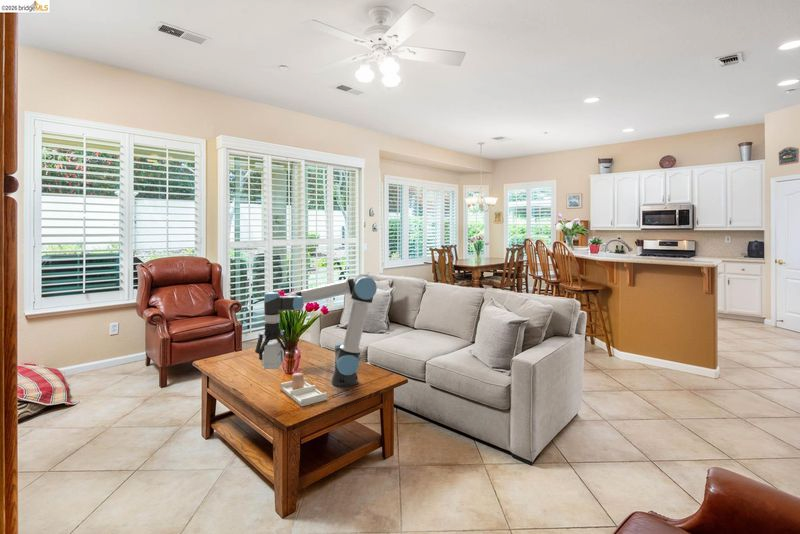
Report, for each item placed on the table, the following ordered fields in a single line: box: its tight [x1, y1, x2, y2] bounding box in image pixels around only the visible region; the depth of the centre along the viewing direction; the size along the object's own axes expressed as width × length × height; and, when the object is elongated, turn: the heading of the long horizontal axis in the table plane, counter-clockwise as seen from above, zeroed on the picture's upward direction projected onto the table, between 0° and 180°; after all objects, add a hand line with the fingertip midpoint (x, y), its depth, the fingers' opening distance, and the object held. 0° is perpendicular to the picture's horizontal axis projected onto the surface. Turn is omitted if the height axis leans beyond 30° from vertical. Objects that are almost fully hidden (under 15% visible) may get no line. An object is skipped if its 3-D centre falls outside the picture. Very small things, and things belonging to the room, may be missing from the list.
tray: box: [280, 372, 328, 407], centre depth 213 cm, size 14×27×9 cm, turn 39°
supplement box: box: [263, 341, 282, 370], centre depth 208 cm, size 7×7×13 cm
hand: (272, 363), depth 209 cm, fingers closed on supplement box, 10 cm apart
